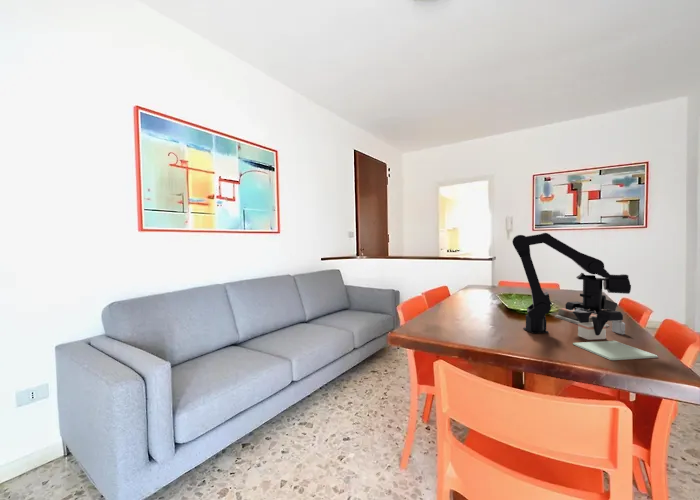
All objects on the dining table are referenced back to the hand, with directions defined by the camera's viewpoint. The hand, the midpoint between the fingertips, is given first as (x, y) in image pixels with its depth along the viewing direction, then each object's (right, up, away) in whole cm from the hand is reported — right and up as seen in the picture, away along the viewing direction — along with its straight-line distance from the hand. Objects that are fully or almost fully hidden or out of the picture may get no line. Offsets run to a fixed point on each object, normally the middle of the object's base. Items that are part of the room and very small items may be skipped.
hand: (591, 333), depth 115 cm
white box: (0, -2, 0) cm, 2 cm away
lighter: (+14, -1, +7) cm, 16 cm away
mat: (-4, -2, -13) cm, 14 cm away
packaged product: (+12, -1, +21) cm, 24 cm away
